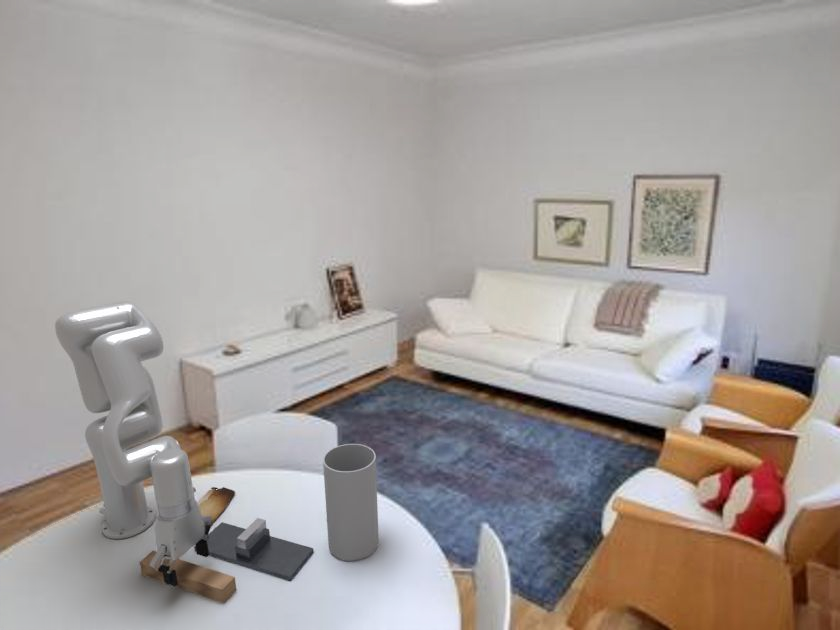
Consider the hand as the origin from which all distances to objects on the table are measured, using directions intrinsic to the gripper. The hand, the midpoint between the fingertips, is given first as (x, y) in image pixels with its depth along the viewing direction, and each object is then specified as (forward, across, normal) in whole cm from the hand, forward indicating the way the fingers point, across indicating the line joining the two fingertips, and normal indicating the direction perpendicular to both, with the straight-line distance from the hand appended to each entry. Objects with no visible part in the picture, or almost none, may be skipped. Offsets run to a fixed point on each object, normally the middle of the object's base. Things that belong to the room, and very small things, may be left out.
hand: (187, 569), depth 123 cm
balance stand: (+4, -14, +7) cm, 16 cm away
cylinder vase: (+5, -25, +29) cm, 39 cm away
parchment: (+4, -21, -15) cm, 26 cm away
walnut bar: (+4, 0, -1) cm, 4 cm away
